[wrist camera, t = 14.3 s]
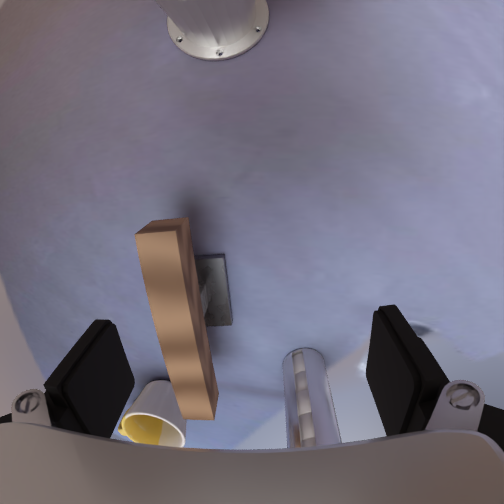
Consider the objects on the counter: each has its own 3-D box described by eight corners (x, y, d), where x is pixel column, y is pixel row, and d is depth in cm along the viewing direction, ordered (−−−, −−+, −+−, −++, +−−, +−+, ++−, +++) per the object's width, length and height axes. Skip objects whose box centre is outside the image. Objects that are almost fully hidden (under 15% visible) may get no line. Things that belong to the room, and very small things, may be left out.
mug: (181, 365, 49) (166, 411, 39) (204, 407, 52) (195, 452, 42) (115, 374, 50) (93, 414, 41) (140, 412, 54) (125, 452, 44)
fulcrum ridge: (166, 257, 42) (147, 282, 35) (224, 253, 42) (215, 279, 34) (179, 321, 46) (165, 353, 38) (232, 319, 45) (226, 353, 38)
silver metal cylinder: (279, 377, 49) (284, 516, 25) (286, 345, 46) (297, 494, 23) (318, 379, 49) (341, 514, 25) (327, 349, 46) (361, 490, 23)
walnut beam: (152, 220, 32) (134, 234, 28) (188, 217, 32) (175, 230, 27) (190, 393, 40) (183, 419, 36) (218, 393, 40) (214, 420, 35)
